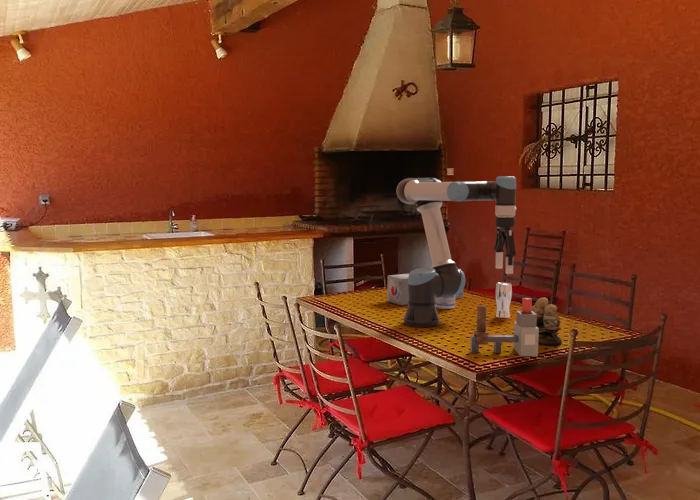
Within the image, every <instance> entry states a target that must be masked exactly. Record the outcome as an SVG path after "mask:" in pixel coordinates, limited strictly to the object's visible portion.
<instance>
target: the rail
mask: <svg viewBox="0 0 700 500" xmlns="http://www.w3.org/2000/svg"><path fill="white" fill-rule="evenodd" d="M514 342H518V336H517V335H514V334H488V343H493V352H494V353H495V354H501V353H502V343H514ZM479 347H480V345H477V344H476V335H474V334H471V335H470V349H469V350H470V353H471V354H479V353H480V349H479Z"/></svg>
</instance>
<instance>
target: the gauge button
mask: <svg viewBox="0 0 700 500" xmlns="http://www.w3.org/2000/svg"><path fill="white" fill-rule="evenodd" d="M521 299H522V303H521V304H522V305H521V311H522V314H531V308H532V306H533V305H532V303H533V298H531V297H522V298H521Z"/></svg>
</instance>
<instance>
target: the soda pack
mask: <svg viewBox="0 0 700 500" xmlns="http://www.w3.org/2000/svg"><path fill="white" fill-rule="evenodd" d="M408 277H409V273H402V274H391V275H390V274H389V275H387V291H386V292H387V293H386V294H387V296H386V297H387V299H386V301H387V302H388V303H392V304H395V305H399V306H408ZM463 298H464V289H463V290H462V292H461V293H459V294H457V295H455V300H456V299H463Z"/></svg>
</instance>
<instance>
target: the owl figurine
mask: <svg viewBox="0 0 700 500" xmlns="http://www.w3.org/2000/svg"><path fill="white" fill-rule="evenodd" d="M557 310H558V306H557V305H555V304H552V303H551V304H550V303H549V300H548V298H547V297H540V298H538V299H537V300H536V302H535V304H534V305H532V308H531V311H533V312H534V313H536V314H537V324H536V326H537V327H538V328H539V337H538V346H549V347H551V346H560V345H562V343H563V342H562V341H563V340H562V339H561V338H560V337H559V336H558V332H559V331H561V330H562V327H560V325H561V318H560V316H559V314H558V313H557Z"/></svg>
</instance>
